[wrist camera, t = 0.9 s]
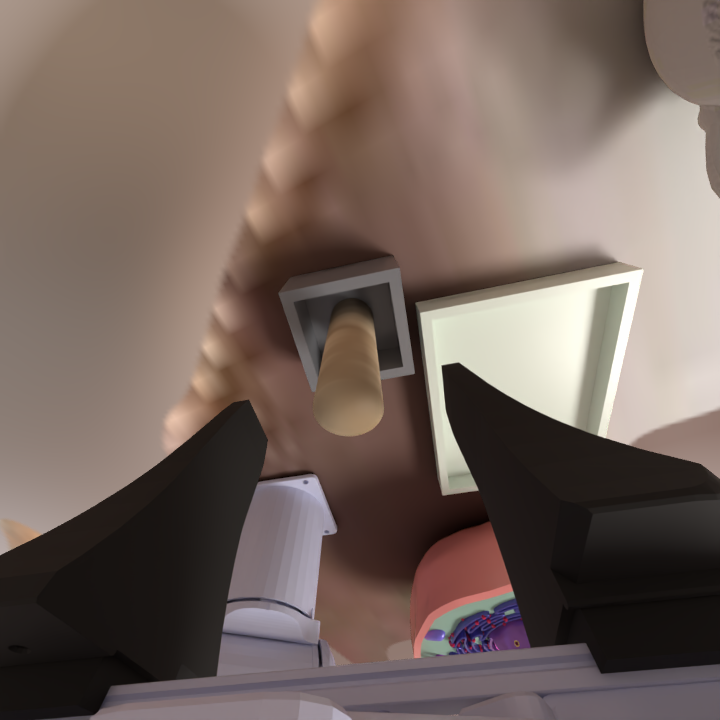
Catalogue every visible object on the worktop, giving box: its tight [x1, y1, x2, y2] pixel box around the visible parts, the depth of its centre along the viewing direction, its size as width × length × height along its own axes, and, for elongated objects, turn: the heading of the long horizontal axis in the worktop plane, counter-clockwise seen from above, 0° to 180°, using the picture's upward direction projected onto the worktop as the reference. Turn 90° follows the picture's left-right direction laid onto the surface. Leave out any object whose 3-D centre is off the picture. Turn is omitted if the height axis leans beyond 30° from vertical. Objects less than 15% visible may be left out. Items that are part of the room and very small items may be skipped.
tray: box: [415, 262, 644, 496], centre depth 22 cm, size 12×16×2 cm
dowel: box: [313, 298, 384, 436], centre depth 15 cm, size 3×3×9 cm
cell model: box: [410, 521, 531, 658], centre depth 27 cm, size 17×20×11 cm
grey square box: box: [278, 255, 415, 392], centre depth 18 cm, size 6×6×3 cm
